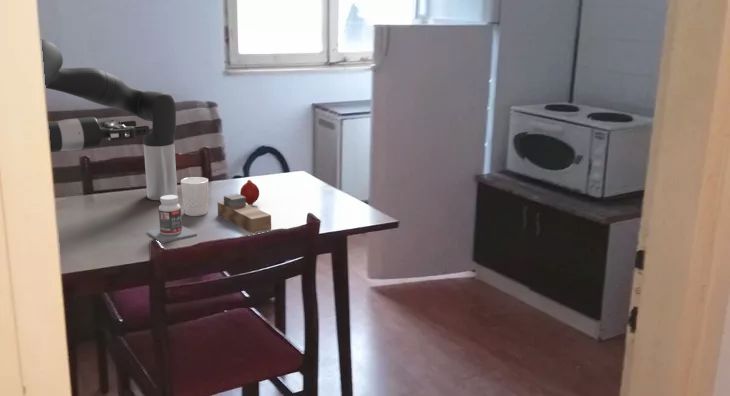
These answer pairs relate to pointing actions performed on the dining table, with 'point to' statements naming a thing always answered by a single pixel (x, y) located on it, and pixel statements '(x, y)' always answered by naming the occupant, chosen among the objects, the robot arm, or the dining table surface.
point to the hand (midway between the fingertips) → (141, 127)
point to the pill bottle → (170, 215)
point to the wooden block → (243, 214)
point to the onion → (250, 192)
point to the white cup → (195, 195)
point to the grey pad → (166, 238)
